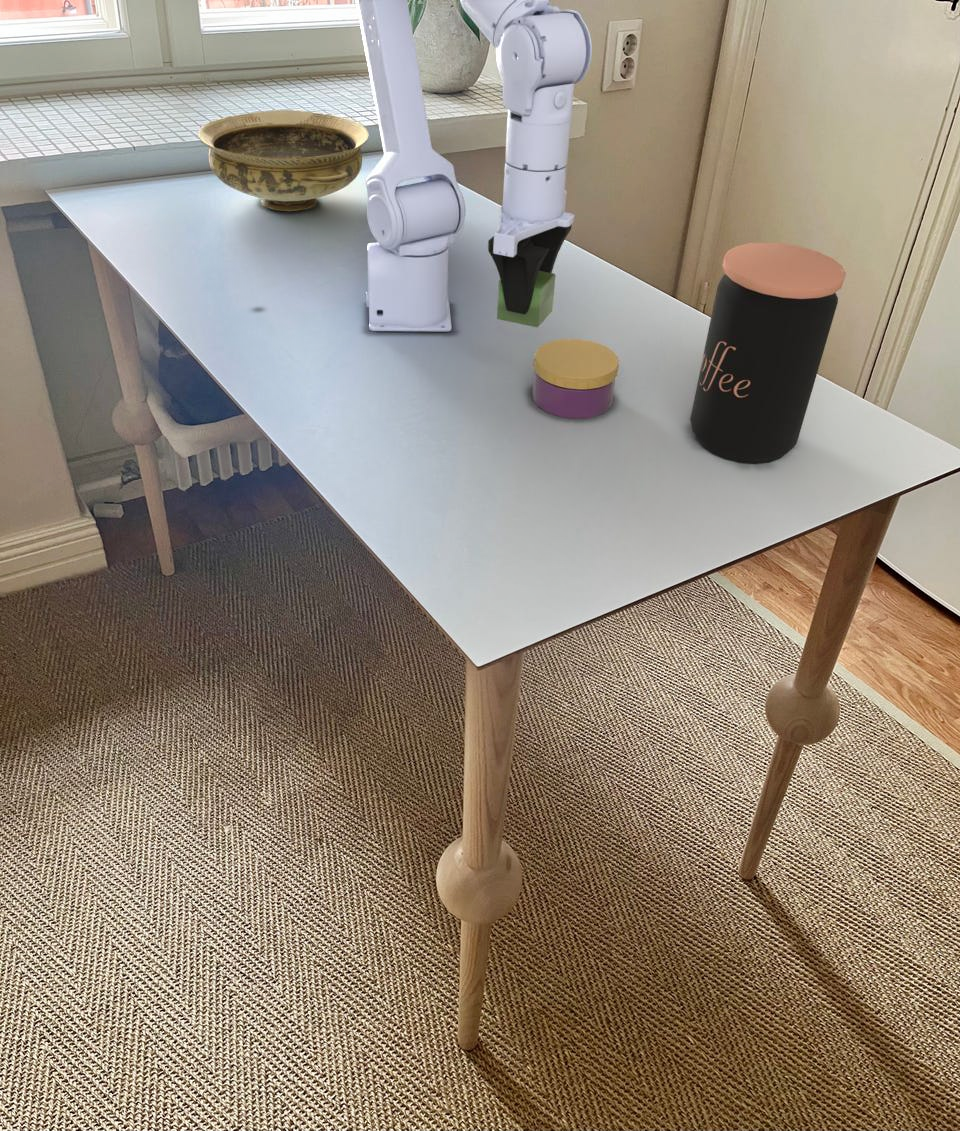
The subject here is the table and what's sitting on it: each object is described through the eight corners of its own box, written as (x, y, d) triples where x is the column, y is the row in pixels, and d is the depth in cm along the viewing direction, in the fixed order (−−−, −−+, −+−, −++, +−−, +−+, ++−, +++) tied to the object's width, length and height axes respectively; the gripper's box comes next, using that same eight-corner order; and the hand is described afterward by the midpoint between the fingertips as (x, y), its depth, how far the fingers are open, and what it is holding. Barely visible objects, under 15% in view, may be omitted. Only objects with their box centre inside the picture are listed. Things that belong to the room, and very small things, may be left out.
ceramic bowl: (412, 220, 141) (412, 148, 134) (259, 250, 130) (251, 173, 123) (315, 162, 159) (310, 96, 153) (174, 184, 148) (163, 114, 142)
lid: (538, 389, 97) (539, 378, 96) (529, 349, 103) (530, 338, 103) (624, 390, 97) (626, 378, 97) (609, 349, 104) (611, 338, 103)
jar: (537, 418, 99) (540, 381, 96) (528, 378, 105) (531, 343, 103) (618, 418, 100) (624, 382, 97) (604, 379, 106) (609, 343, 103)
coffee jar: (676, 411, 101) (709, 241, 90) (775, 411, 102) (821, 242, 91) (703, 468, 93) (743, 288, 82) (811, 467, 94) (865, 289, 83)
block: (537, 328, 97) (540, 289, 94) (496, 319, 98) (498, 280, 95) (552, 311, 100) (555, 273, 97) (512, 302, 101) (515, 265, 99)
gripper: (550, 192, 83) (538, 339, 92) (601, 148, 94) (585, 283, 102) (474, 178, 85) (469, 323, 94) (532, 137, 96) (523, 271, 104)
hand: (525, 302), depth 98 cm, fingers closed on block, 4 cm apart
